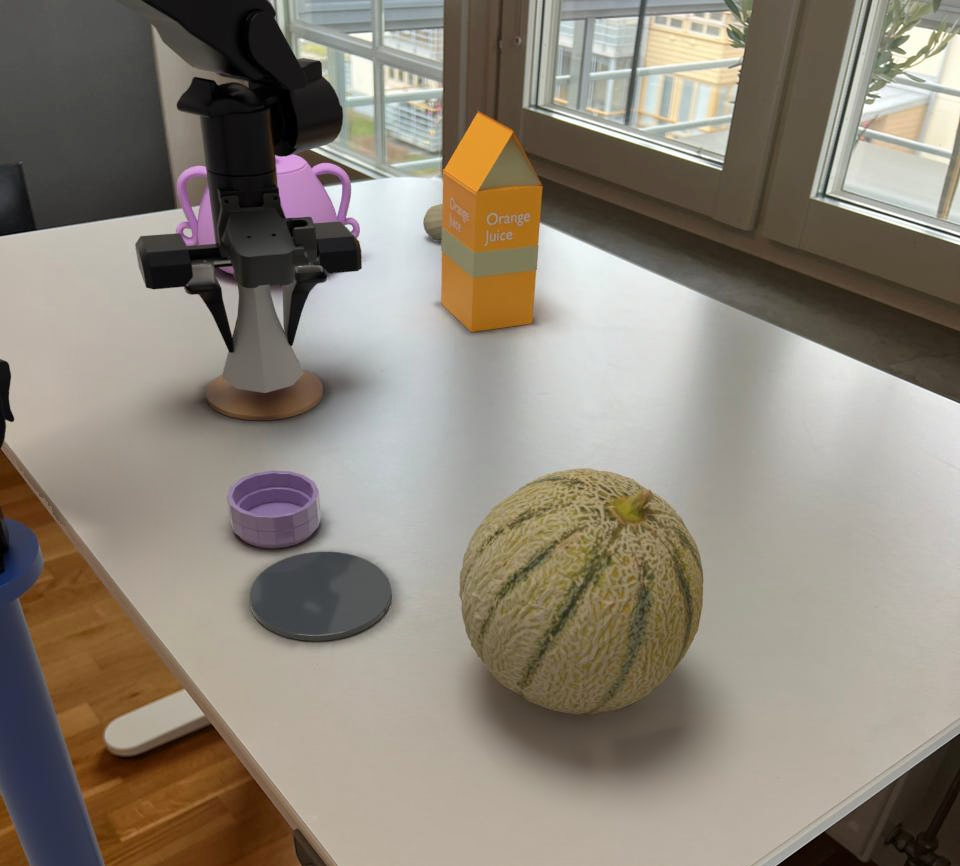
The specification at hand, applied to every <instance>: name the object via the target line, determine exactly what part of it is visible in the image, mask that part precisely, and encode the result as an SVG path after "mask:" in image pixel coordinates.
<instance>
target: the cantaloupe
mask: <svg viewBox="0 0 960 866" xmlns="http://www.w3.org/2000/svg"><path fill="white" fill-rule="evenodd" d="M462 559H463V560H462V565H461V566H462V567H461V569H460V571H459V598H460V601H461V608H460V609H461V617H462V620H463V625H464V628H465V633H466V637H467V638H468V640H469V642H470V646H471V648H472V649H473V651H474V652H475V654H476V656H477V657H478V658H479V659H480V661H481V662H482V663H483V664H484V665H485V667H486V668H487V670H488V671H489V672H490V674H491V675H492V677H494V678H495V679H496V680H497V681H498V683H500V684H501V685H502V686H503V687H505V688H506V689H508V690H510V691H512V692H514V693H515V694H517V695H518V696H520V697H522V698H523V699H525V700H526V701H528V702H530V703H532V704H534V705H537V706H540V707H543V708H545V709H549V710H551V711H554V712H561V713H564V714H572V715H582V714H589V715H593V714H598V713H600V712H601V713H602V712H610V711H615V710H619V709H621V708H625V707H629V706H630V705H632V704H634V703H636V702H638V701H640V700H641V699H643V698H644V697H646V696H648V695H649V694H650V693H651V692H652V691H653V690H654V689H655V688H657V687H658V686H659V685H660V684H661V683H662V682H663V681H664V680H665V679H666V678H667V677H669V676H670V675H671V674H672V673H673V671H675V669H676V668H677V667H678V666H679V664H681V662H682V660H683V659H684V658H685V657H686V655H687V653H688V651H689V649H690V647H691V645H692V643H693V642H694V640H695V637H696V635H697V633H698V631H699V627H700V622H701V615H702V611H703V605H704V603H703V602H704V570H703V564H702V559H701V554H700V551H699V548H698V545H697V543H696V540H695V539H694V537H693V536H692V534H691V533H690V530H689V529H688V528H687V526H686V525H685V522H684V520H683V519H682V517H681V516H680V514H678V513H677V511H676V510H675V508H673V506H671V504H669V503H668V502H667V500H666V499H664V498H663V497H661V496H660V495H658V494H657V493H656V492H653V491H652V490H651V489H648V488H646V487H645V486H643V485H641V484H640V483H639V482H638V481H636V480H634V478H631V477H628V476H625V475H622V474H619V473H616V472H613V471H607V470H598V469H594V468H590V467H581V468H580V467H579V468H572V469H565V470H560V471H554V472H552V473H547V474H545V475H543V476H539V477H537V478H536V479H533V480H531V481H529V482H528V483H525V485H524V486H520V488H519V489H518V490H517V491H515V492H514V493H512V494H511V495H509V496H507V497H506V498H504V499H502V500H501V501H500V502H499V503H498V504H497V505H495V506H494V507H493V508H491V510H490V512H489V513H488V514H487V515H486V516H485V517H484V518H483V520H482V521H481V523H480V524H479V525H478V526H477V528H476V529H475V531H474V532H473V534H472V536H471V538H470V539H469V541H468V545H467V547H466V550H465V552H464V554H463V558H462Z"/></svg>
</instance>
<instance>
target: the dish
mask: <svg viewBox="0 0 960 866" xmlns="http://www.w3.org/2000/svg"><path fill="white" fill-rule="evenodd" d="M317 486H318V485H317V483H316V482H315V481H314V480H312V479H311V478H309V477H308V476H307V475H305V474H302V473H298V472H295V471H289V470H267V471H259V472H254V473H252V474H250V475H247V476H244V477H242V478H240V479H239V480H237V481H235V483H233V484H232V485H231V486H230V488H229V490H228V492H227V495H226V500H227V507H228V514H229V518H230V519H229V520H230V525H231V529H232V531H233V533H234V534H236V535H237V536H238V537H239V538H240V539H241V540H242V541H243V542H245V543H247V544H249V545H251V546H255V547H258V548H264V549H280V548H281V549H282V548H289V547H292V546H296V545H298V544H301V543H302V542H304V541H306V540H308V539H309V538H310V537H311V536H312V535H313V534H314V533H315V531H316V530H317V529H318V527H319V526H320V523H321V519H322V515H321V502H320V491H319V488H318V487H317Z"/></svg>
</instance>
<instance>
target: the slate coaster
mask: <svg viewBox="0 0 960 866" xmlns="http://www.w3.org/2000/svg"><path fill="white" fill-rule="evenodd" d="M248 601H249V606H250V610H251V612H252V615H253V616H254V618H255V619H256V620H257V621H258V623H260V624H261V626H263V627H264V628H266V629H267V630H269V631H271V632H273V633H275V634H277V635H280V636H282V637H286V638H288V639H292V640H299V641H307V642H324V641H334V640H339V639H344V638H348V637H351V636H353V635H356V634H359V633H361V632H363V631H365V630H367V629H369V628H370V627H372V626H373V625H375V624H376V623H378V622H379V621H380V620H381V618H382V617H384V615H385V614H386V612H387V611H388V609H389V607H390V604H391V601H392V588H391V583H390V580H389V577H388V576H387V575H386V573H385V572H384V571H383V570H382V569H381V568H380V567H378V566H377V565H376V564H375V563H373V562H372V561H370V560H367V559H365V558H363V557H361V556H358V555H355V554H350V553H345V552H339V551H311V552H305V553H300V554H295V555H292V556H289V557H286V558H284V559H283V558H282V559H281V560H278V561H277V562H274V563H273V564H271V565H269V567H268V566H267V567H266V568H265V569H264V570H263V571H261V572H260V574H259V575H258V576H256V578H255V580H254V581H253V582H252V585H251V587H250V589H249V599H248Z"/></svg>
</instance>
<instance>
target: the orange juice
mask: <svg viewBox="0 0 960 866" xmlns="http://www.w3.org/2000/svg"><path fill="white" fill-rule="evenodd" d="M543 188H544V186H543V184H542V182H541V180H540V178H539V176H538V174H537V172H536V171H535V169H534V167H533V165H532V163H531V162H530V159H529V158H528V156H527V153H526V151H525V150H524V148H523V146H522V145H521V142H520V141H519V139H518V137H517V135H516V133H515V131H514V130H513V129H512V128H510V127H508V126H507V125H504V123H501V122H500V121H498V120H496V119H494V118H492V117H491V116H488V115H486V114H485V113H483V112H481V111H479V110H477V112H476V114H475V116H474V118H473V120H472V121H471V123H470V125H469V126H468V128H467V130H466V131H465V133H464V135H463V137H462V138H461V140H460V142H459V144H458V145H457V147H456V148H455V150H454V152H453V153H452V155H451V156H450V159H449V160H448V162H447V164H446V166H445V167H444V168H443V169H442V204H443V211H442V240H441V247H440V248H441V249H440V250H441V277H440V278H441V282H440V283H441V286H440V300H441V301H440V304H441V306H443V307H444V308H445V309H446V310H447V311H448V312H449V313H450V314H451V315H453V317H455V319H457V320H458V321H459V322H460V324H462V325H463V326H464V327H465V328H466V329H467V330H468V331H469V332H470V333H475V332H476V333H477V332H483V331H489V330H496V329H504V328H510V327H518V326H524V325H525V326H526V325H532V324H533V318H534V305H535V294H536V293H535V292H536V281H537V280H536V277H537V270H538V259H539V258H538V257H539V240H540V239H539V238H540V225H541V211H542V201H543V200H542V197H543Z"/></svg>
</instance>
